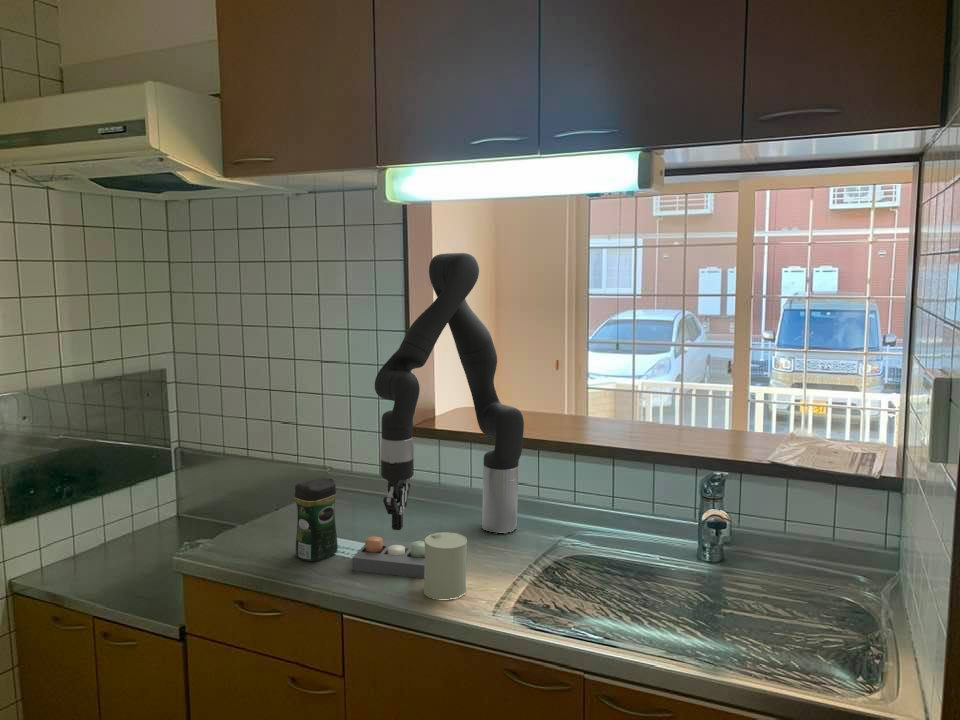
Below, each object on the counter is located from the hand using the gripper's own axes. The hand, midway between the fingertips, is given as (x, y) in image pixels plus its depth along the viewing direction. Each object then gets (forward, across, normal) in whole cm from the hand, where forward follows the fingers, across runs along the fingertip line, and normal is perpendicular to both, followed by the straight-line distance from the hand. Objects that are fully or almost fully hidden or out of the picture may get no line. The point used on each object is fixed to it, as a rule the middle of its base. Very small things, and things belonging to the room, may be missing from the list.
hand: (397, 528), depth 171 cm
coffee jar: (+8, 0, -20) cm, 22 cm away
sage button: (+6, 0, +5) cm, 8 cm away
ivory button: (+8, 0, 0) cm, 8 cm away
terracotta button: (+6, 0, -6) cm, 8 cm away
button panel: (+8, 0, 0) cm, 8 cm away
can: (+9, +11, +14) cm, 20 cm away
